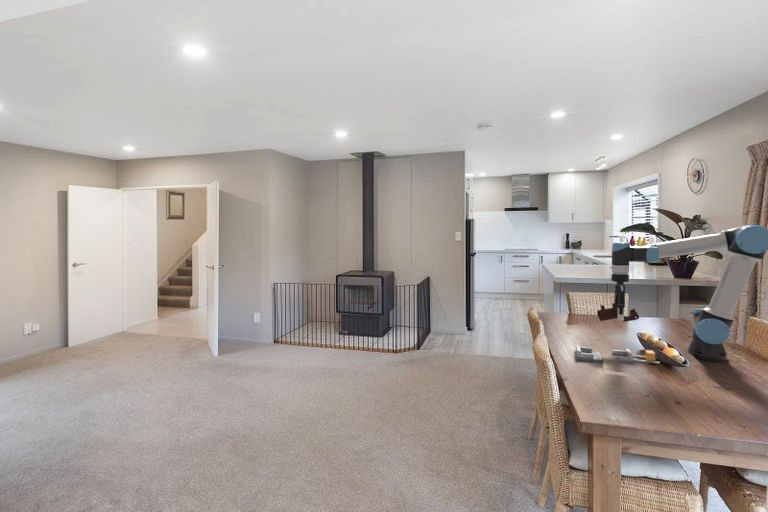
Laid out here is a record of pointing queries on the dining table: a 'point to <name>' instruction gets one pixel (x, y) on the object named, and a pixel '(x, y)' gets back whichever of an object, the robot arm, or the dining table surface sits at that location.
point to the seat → (592, 356)
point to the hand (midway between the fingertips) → (619, 318)
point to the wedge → (649, 355)
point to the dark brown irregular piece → (615, 313)
